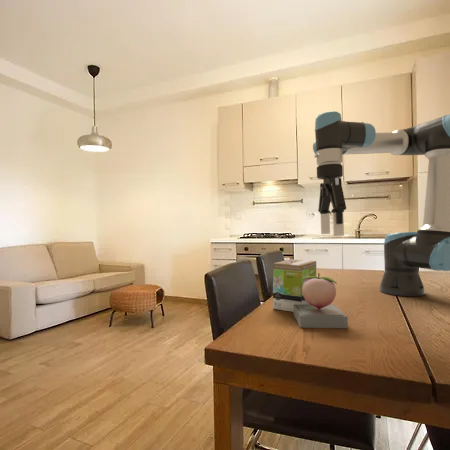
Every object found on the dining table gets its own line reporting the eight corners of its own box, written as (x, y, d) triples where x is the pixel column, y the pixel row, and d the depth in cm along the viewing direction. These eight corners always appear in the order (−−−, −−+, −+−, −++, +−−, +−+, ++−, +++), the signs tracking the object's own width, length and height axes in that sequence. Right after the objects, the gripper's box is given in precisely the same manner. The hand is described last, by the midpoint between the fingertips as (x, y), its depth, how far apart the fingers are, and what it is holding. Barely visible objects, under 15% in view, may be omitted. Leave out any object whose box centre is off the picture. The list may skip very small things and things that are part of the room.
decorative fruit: (301, 312, 85) (300, 275, 85) (302, 304, 93) (302, 270, 93) (338, 314, 83) (337, 276, 83) (336, 306, 90) (335, 271, 90)
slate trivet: (334, 314, 94) (334, 304, 94) (347, 328, 82) (347, 315, 82) (293, 314, 94) (293, 303, 94) (300, 327, 82) (300, 315, 82)
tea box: (302, 313, 95) (302, 264, 95) (271, 309, 100) (271, 262, 100) (317, 303, 108) (316, 259, 108) (288, 299, 113) (288, 258, 113)
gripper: (308, 171, 109) (310, 233, 109) (328, 157, 84) (331, 237, 84) (330, 170, 109) (332, 232, 109) (357, 156, 84) (359, 236, 84)
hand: (331, 234), depth 97 cm, fingers open, 13 cm apart
